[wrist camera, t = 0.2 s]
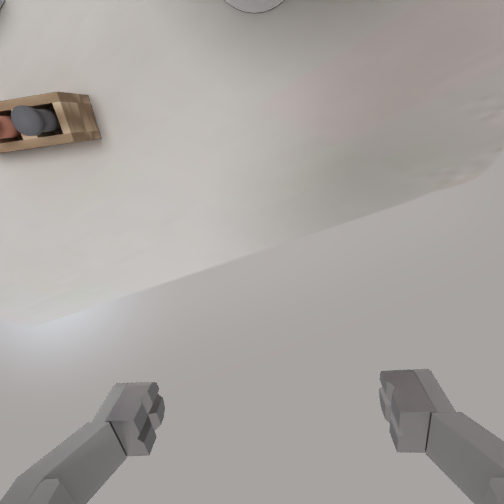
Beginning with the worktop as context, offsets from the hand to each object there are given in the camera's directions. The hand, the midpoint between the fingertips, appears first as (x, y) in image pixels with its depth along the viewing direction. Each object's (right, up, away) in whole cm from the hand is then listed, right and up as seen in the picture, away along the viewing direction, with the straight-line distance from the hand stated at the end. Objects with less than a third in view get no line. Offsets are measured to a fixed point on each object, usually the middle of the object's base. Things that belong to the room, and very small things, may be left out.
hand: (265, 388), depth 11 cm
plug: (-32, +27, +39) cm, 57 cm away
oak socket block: (-39, +28, +43) cm, 64 cm away
